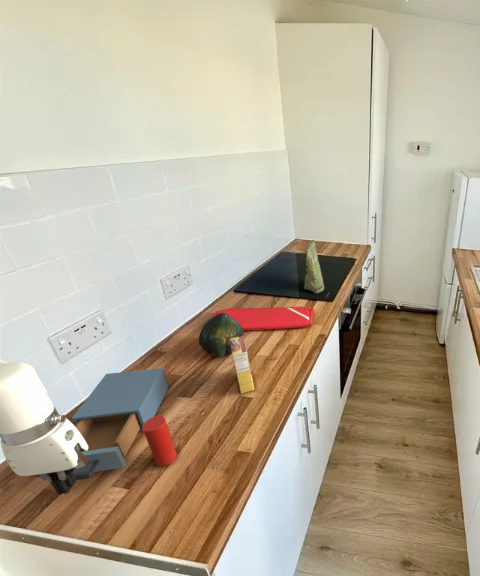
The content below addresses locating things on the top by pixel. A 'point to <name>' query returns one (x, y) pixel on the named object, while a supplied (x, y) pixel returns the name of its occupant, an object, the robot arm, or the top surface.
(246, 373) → the candy box
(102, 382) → the cabinet
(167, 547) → the top surface
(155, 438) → the tin
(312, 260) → the pale green cone
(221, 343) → the squash
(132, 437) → the drawer
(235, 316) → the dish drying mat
